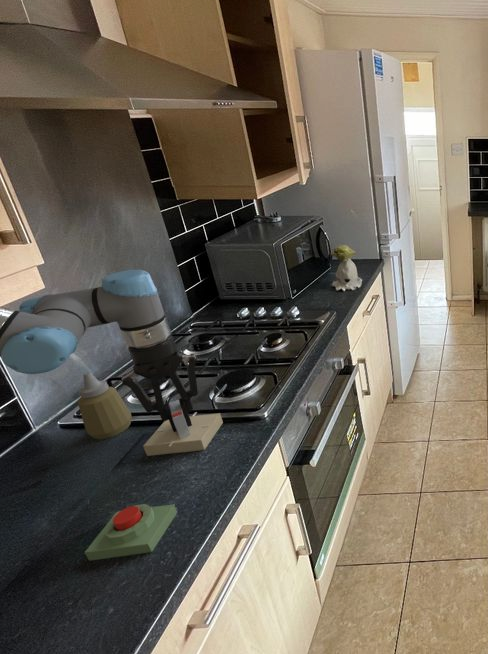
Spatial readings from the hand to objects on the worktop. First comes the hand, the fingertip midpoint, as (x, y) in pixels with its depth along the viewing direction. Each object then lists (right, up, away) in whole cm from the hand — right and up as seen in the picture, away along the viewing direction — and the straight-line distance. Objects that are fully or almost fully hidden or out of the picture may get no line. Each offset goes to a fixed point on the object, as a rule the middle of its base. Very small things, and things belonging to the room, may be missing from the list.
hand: (182, 425), depth 98 cm
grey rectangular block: (0, -1, 0) cm, 1 cm away
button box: (+8, -13, -21) cm, 26 cm away
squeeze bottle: (-18, -3, +3) cm, 19 cm away
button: (+8, -9, -22) cm, 25 cm away
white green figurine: (+5, +30, +85) cm, 91 cm away
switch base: (0, -4, +2) cm, 4 cm away
